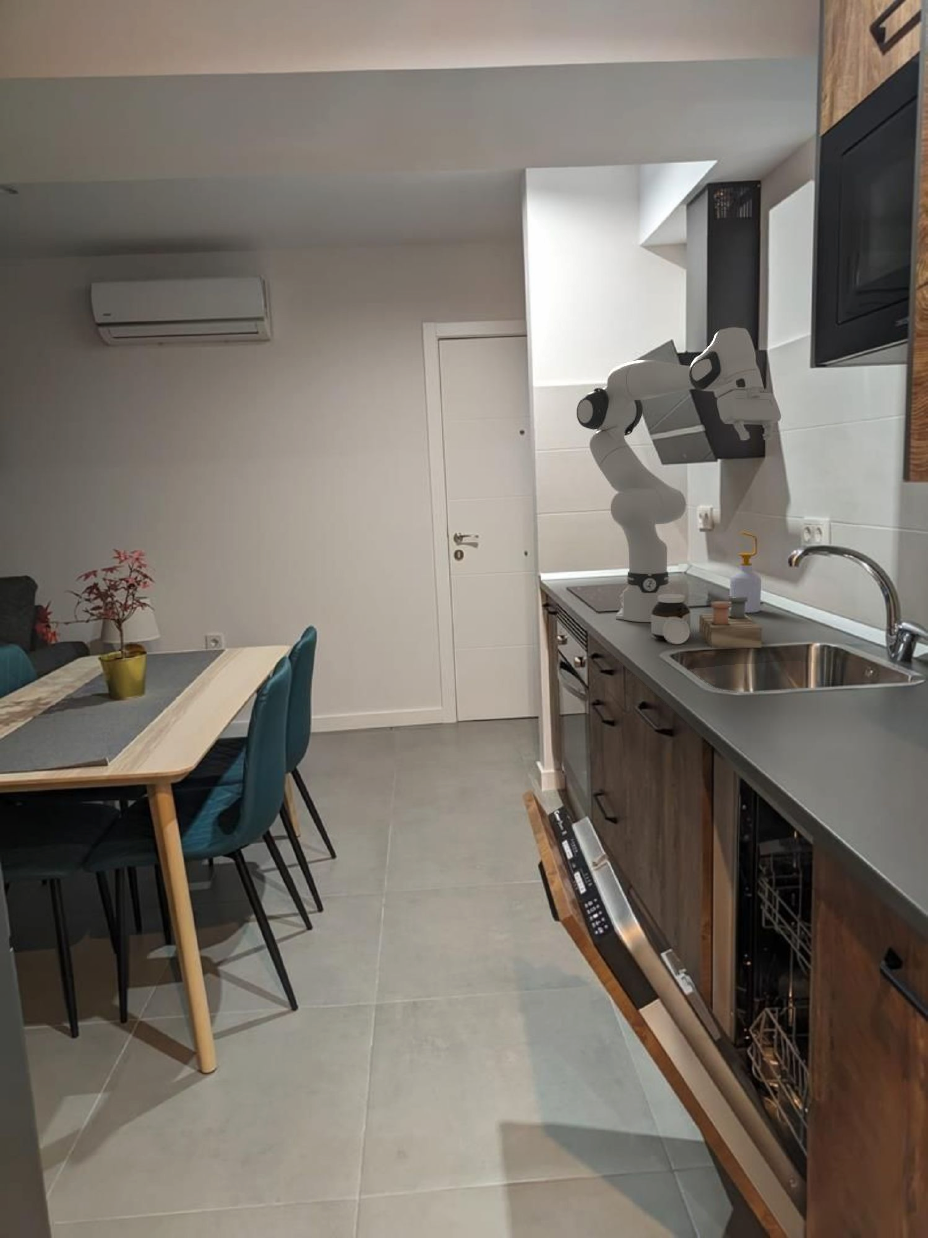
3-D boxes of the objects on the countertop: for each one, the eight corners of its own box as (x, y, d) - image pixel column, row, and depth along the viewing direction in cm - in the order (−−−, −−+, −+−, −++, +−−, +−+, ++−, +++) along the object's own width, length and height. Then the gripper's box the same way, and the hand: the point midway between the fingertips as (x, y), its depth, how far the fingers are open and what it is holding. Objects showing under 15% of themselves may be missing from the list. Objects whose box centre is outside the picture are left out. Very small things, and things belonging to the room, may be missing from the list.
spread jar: (672, 634, 230) (673, 592, 228) (705, 640, 221) (706, 596, 219) (641, 640, 223) (641, 597, 221) (673, 647, 214) (674, 601, 212)
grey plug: (726, 621, 227) (727, 595, 226) (744, 621, 227) (745, 595, 226) (729, 624, 223) (730, 598, 221) (748, 624, 222) (749, 598, 221)
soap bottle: (728, 608, 268) (731, 530, 264) (759, 608, 266) (761, 530, 261) (729, 612, 260) (732, 532, 255) (761, 613, 257) (764, 532, 253)
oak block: (699, 632, 232) (699, 614, 231) (744, 631, 230) (744, 613, 229) (711, 647, 212) (712, 628, 211) (761, 647, 211) (761, 627, 210)
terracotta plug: (709, 627, 219) (709, 601, 218) (728, 627, 219) (728, 601, 217) (712, 631, 215) (713, 604, 213) (731, 631, 214) (732, 604, 213)
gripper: (759, 394, 223) (772, 443, 222) (709, 391, 212) (721, 443, 211) (779, 384, 218) (792, 435, 217) (729, 380, 207) (742, 434, 205)
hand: (757, 439), depth 214 cm, fingers open, 8 cm apart
